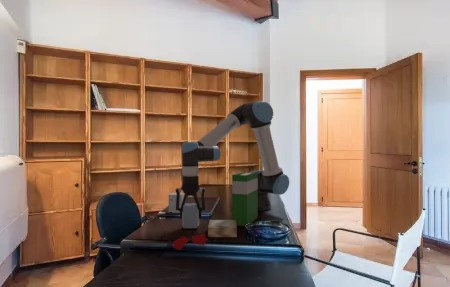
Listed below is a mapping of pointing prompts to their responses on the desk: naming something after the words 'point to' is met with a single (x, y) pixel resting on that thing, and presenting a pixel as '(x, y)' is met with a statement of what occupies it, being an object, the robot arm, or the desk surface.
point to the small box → (174, 202)
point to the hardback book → (244, 198)
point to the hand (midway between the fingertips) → (190, 225)
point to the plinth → (222, 228)
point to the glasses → (183, 240)
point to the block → (190, 215)
